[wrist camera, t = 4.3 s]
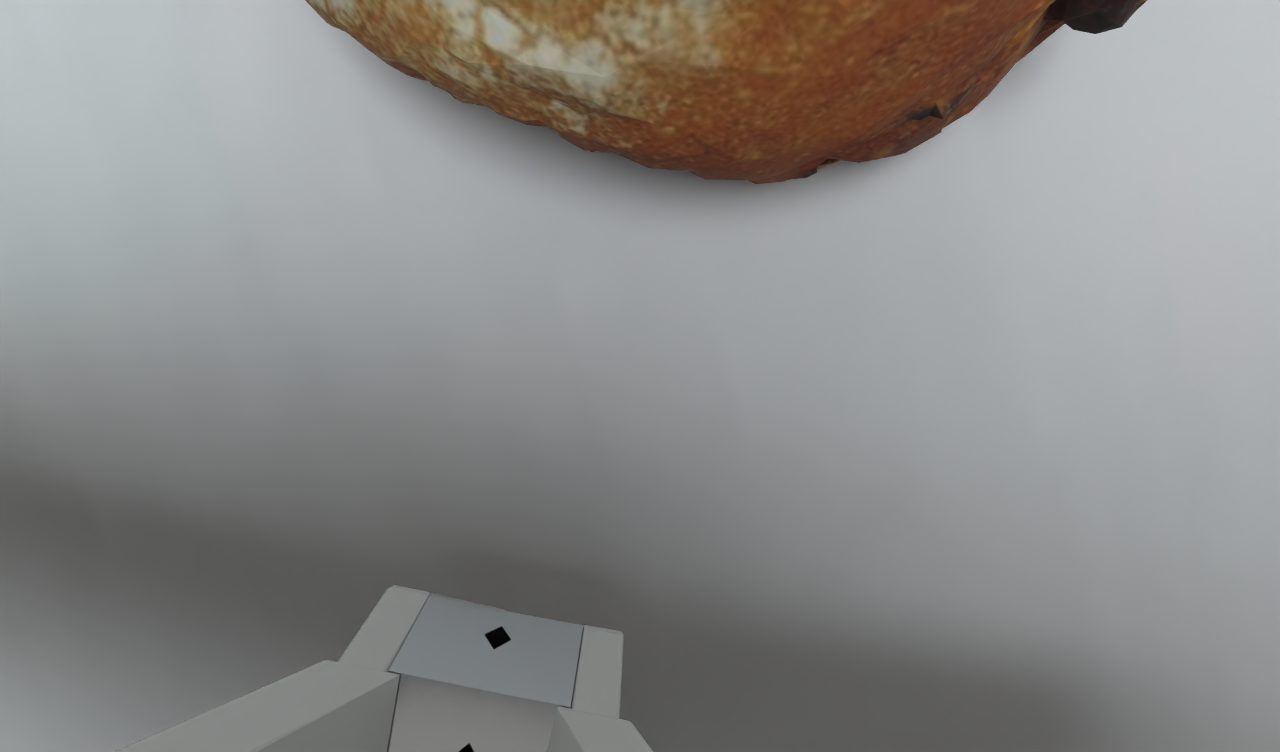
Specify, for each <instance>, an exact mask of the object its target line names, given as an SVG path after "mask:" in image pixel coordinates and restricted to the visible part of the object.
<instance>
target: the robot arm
mask: <svg viewBox="0 0 1280 752" xmlns="http://www.w3.org/2000/svg"><path fill="white" fill-rule="evenodd" d="M623 638H624V635H623V634H622V632H621V631H618V630H612V629H606V628H600V627H594V626H588V625H584V627H583V625H580V624H574V623H569V622H563V621H558V620H552V619H547V618H541V617H536V616H530V615H525V614H519V613H514V612H508V610H505V609H501V608H496V607H492V606H488V605H483V604H479V603H475V602H470V601H466V600H461V599H457V598H453V597H448V596H444V595H440V594H435V593H433V594H431V593H430V592H427V591H422V590H417V589H412V588H407V587H402V586H397V585H393V586H391V587H389V588H388V589H387V590H386V591H385V593H384V594H383V595H382V597H381V598H380V600H379V601H378V603H377V604H376V606H375V607H374V609H373V610H372V612H371V613H370V615H369V616H368V618H367V619H366V621H365V622H364V624H363V625H362V627H361V628H360V629H359V631H358V632H357V634H356V635H355V637H354V638H353V640H352V641H351V643H350V644H349V646H348V647H347V649H346V650H345V652H344V653H343V655H342V656H341V658H340V659H339V661H338V662H335V661H330V660H324V661H321V662H319V663H317V664H315V665H312V666H310V667H308V668H305V669H303V670H301V671H298V672H296V673H294V674H292V675H289V676H287V677H285V678H282V679H280V680H278V681H276V682H273V683H271V684H269V685H266V686H264V687H262V688H260V689H257V690H255V691H253V692H250V693H248V694H246V695H243V696H241V697H239V698H237V699H234V700H232V701H230V702H227V703H225V704H223V705H221V706H218V707H216V708H214V709H211V710H209V711H207V712H205V713H202V714H200V715H198V716H195V717H193V718H191V719H188V720H186V721H184V722H182V723H179V724H177V725H175V726H172V727H170V728H168V729H166V730H163V731H161V732H159V733H156V734H154V735H152V736H150V737H147V738H145V739H143V740H140V741H138V742H136V743H133V744H131V745H129V746H127V747H124V748H122V749H120V750H117V751H115V752H653V751H652V749H651V748H650V747H649V745H648V744H647V743H646V741H645V740H644V738H643V737H642V736H641V734H640V733H639V732H638V730H637V729H636V728H635V726H634V725H633V723H632V722H631V721H628V720H623V719H619V715H620V695H621V676H622V657H623Z"/></svg>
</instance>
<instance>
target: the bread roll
mask: <svg viewBox="0 0 1280 752" xmlns="http://www.w3.org/2000/svg"><path fill="white" fill-rule="evenodd" d="M306 1H307V2H308V3H309V5H310V6H311V7H312V8H313V9H314V10H315V11H316V12H317V13H318V14H319V15H320V16H321V17H322V18H323V19H324V20H325V22H326V23H328V24H330V25H331V26H333V27H336V28H339V29H341V30H343V31H345V32H347V33H348V34H350V35H351V36H352V37H353V38H355V39H356V40H357V41H358V42H360V43H361V44H362V45H363V46H365V47H366V48H367V49H369V50H370V51H371V52H373V53H374V54H375V55H377V56H378V57H379V58H381V59H382V60H383V61H385V62H386V63H387V64H389V65H391V66H392V67H394V68H396V69H398V70H399V71H401V72H403V73H405V74H407V75H409V76H412V77H414V78H418V79H422V80H426V81H430V82H431V83H432V84H433V85H434V86H436V87H438V88H441V89H443V90H446V91H447V92H449V93H450V94H451V95H452V96H453V97H454V98H456V99H457V100H459V101H461V102H463V103H472V104H477V105H482V106H488V107H490V108H491V109H492V110H494V111H495V112H496V113H498V114H500V115H503V116H505V117H508V118H511V119H514V120H516V121H519V122H522V123H524V124H527V125H538V126H549V127H551V128H554V129H556V130H558V132H559V133H560V135H561V137H563V138H564V139H566V140H568V141H569V142H571V143H573V144H575V145H576V146H578V147H580V148H581V149H583V150H588V151H591V152H594V151H600V152H612V153H618V154H620V155H622V156H624V157H627V158H629V159H631V160H633V161H635V162H637V163H639V164H642V165H644V166H646V167H648V168H659V169H673V170H688V171H690V172H692V173H694V174H696V175H698V176H700V177H702V178H704V179H725V180H748V181H751V182H753V183H755V184H760V183H771V182H781V181H786V180H789V179H798V178H806V177H808V176H810V175H812V174H814V173H816V172H817V169H819V168H822V167H824V166H827V165H829V164H832V163H834V162H837V161H839V160H845V161H853V162H864V161H869V160H874V159H880V158H885V157H890V156H895V155H899V154H902V153H906V152H907V151H909V150H911V149H913V148H914V147H916V146H918V145H920V144H921V143H923V142H925V141H927V140H928V139H930V138H932V137H934V136H935V135H937V134H939V133H941V130H942V128H944V127H946V126H947V125H949V124H950V123H952V122H954V121H955V120H957V119H959V118H960V117H962V116H964V115H965V114H967V113H969V112H970V111H971V110H972V109H973V108H974V107H976V106H977V105H978V104H979V103H980V102H981V101H982V100H983V99H984V98H986V97H987V96H988V95H989V94H990V92H991V91H992V90H993V89H994V88H995V87H996V85H997V84H998V83H999V82H1000V81H1001V79H1002V78H1003V77H1004V76H1005V75H1006V74H1007V72H1008V71H1009V70H1010V69H1011V68H1012V67H1013V65H1014V64H1015V63H1016V62H1018V61H1019V60H1020V59H1022V58H1023V57H1024V56H1025V55H1027V54H1028V53H1029V52H1030V51H1032V50H1033V49H1034V48H1035V47H1036V46H1038V45H1039V44H1040V43H1041V42H1043V41H1044V40H1045V39H1046V38H1047V37H1049V36H1050V35H1051V34H1052V33H1054V32H1055V31H1056V30H1057V29H1058V28H1060V27H1061V26H1062V25H1064V24H1067V25H1068V26H1069V27H1071V28H1072V29H1073V30H1078V31H1083V32H1088V33H1093V34H1097V33H1101V32H1105V31H1108V30H1112V29H1116V28H1120V27H1122V26H1123V25H1124V24H1125V22H1126V21H1127V20H1128V19H1129V18H1130V17H1131V16H1132V14H1133V13H1134V12H1135V11H1136V10H1137V9H1138V8H1139V7H1140V6H1142V5H1143V4H1144V3H1145V2H1146V1H1147V0H306Z"/></svg>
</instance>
